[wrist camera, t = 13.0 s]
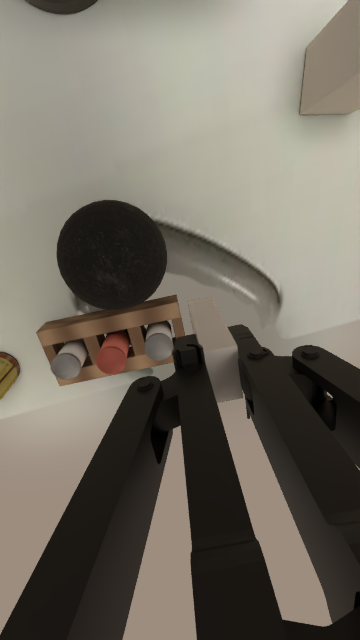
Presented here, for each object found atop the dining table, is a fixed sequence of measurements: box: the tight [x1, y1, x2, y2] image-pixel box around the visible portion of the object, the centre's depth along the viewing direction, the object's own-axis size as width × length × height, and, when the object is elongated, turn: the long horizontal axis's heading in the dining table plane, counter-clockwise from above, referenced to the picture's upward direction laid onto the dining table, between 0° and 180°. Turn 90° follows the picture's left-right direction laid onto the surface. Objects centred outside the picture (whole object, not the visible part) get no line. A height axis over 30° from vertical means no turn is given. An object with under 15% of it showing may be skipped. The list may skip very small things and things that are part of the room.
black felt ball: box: [57, 200, 167, 310], centre depth 36 cm, size 13×13×15 cm
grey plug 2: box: [144, 320, 173, 361], centre depth 44 cm, size 4×4×7 cm
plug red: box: [96, 330, 130, 374], centre depth 43 cm, size 4×4×7 cm
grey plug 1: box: [51, 338, 89, 380], centre depth 44 cm, size 4×4×7 cm
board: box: [36, 295, 185, 386], centre depth 46 cm, size 22×10×4 cm, turn 102°
